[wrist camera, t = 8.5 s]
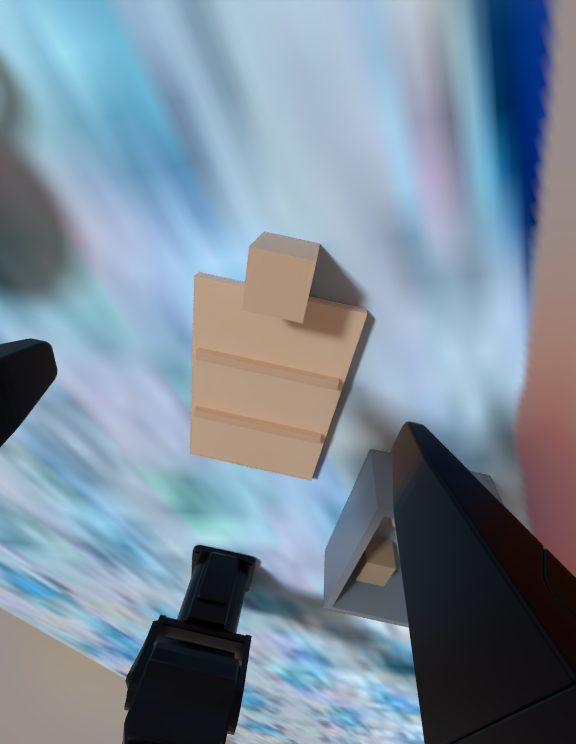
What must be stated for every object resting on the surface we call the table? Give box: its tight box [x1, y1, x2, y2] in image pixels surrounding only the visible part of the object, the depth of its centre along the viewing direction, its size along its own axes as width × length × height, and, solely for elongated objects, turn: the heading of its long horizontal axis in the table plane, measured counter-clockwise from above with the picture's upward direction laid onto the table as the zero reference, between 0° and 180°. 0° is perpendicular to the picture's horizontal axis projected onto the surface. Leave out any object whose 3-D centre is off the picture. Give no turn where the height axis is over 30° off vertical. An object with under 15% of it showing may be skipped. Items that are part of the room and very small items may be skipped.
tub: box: [323, 449, 504, 627], centre depth 26 cm, size 14×9×5 cm, turn 169°
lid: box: [190, 232, 367, 481], centre depth 21 cm, size 17×10×4 cm, turn 169°
